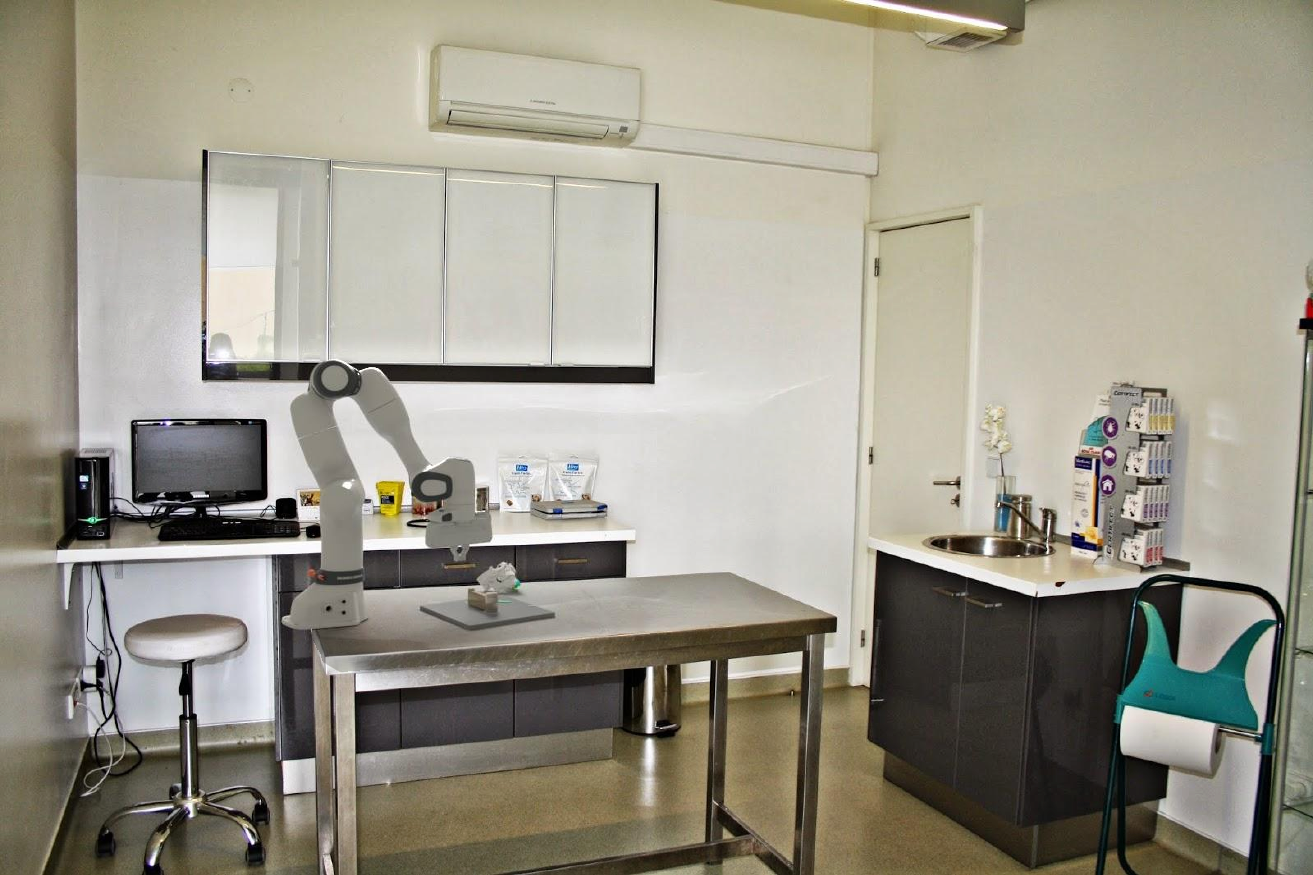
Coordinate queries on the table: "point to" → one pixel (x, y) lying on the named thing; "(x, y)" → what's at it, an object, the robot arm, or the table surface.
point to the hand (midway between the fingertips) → (459, 560)
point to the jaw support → (499, 578)
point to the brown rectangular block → (483, 600)
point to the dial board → (486, 613)
